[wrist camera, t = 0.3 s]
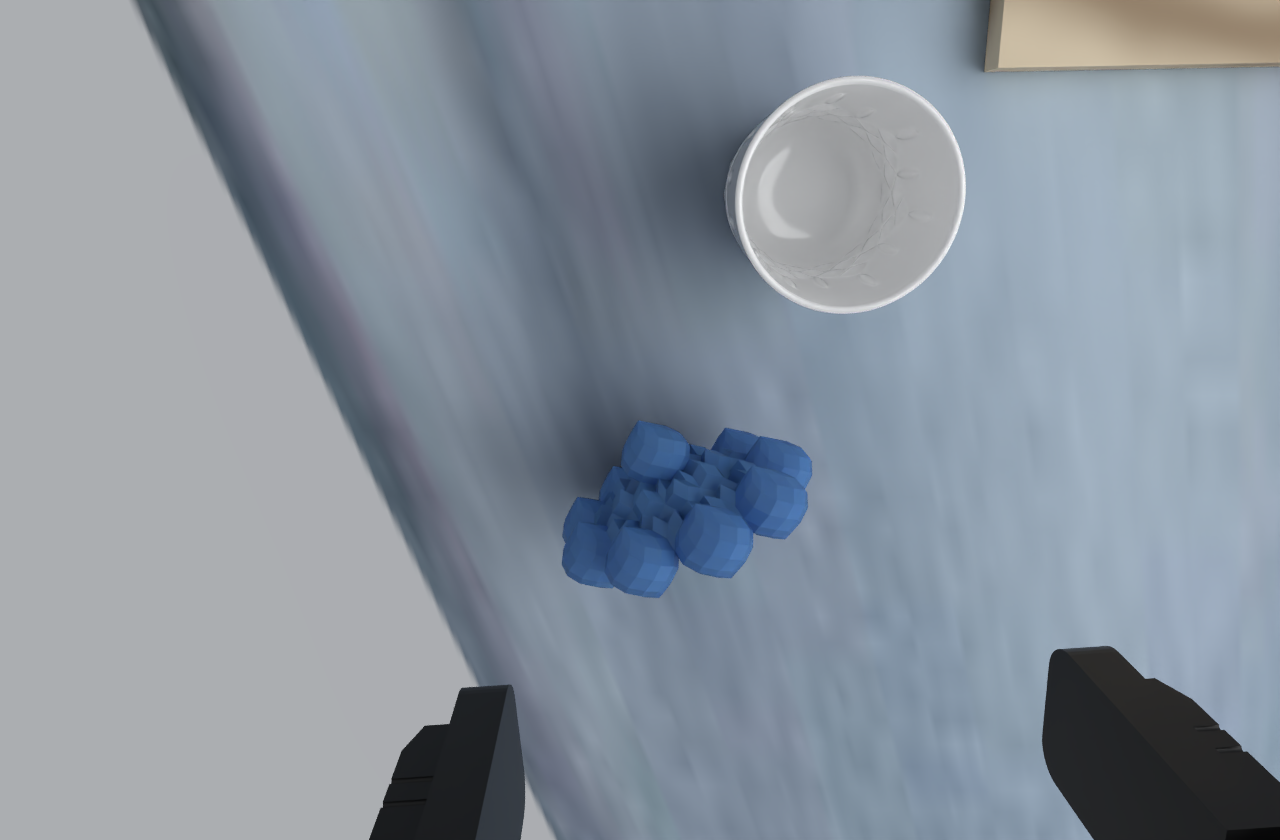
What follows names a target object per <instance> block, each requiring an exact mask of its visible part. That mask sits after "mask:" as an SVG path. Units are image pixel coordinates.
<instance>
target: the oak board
mask: <svg viewBox="0 0 1280 840" xmlns="http://www.w3.org/2000/svg"><path fill="white" fill-rule="evenodd" d="M1229 67H1280V0H991V1H990V12H989V23H988V34H987V46H986V57H985V68H984V72H1014V71H1067V70H1121V69H1175V68H1229Z"/></svg>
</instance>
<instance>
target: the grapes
mask: <svg viewBox="0 0 1280 840" xmlns="http://www.w3.org/2000/svg"><path fill="white" fill-rule="evenodd" d="M621 466H622V467H616V466H613V467H612V469H611V470H610V472H609V473H608V475H607V477H606V479H605V481H604V483H603V485H602V487H601V490H600V493H599V500H595V499H590V498H581V497H577V499H576V500H575V502H574V503H573V505H572V507H571V509H570V511H569V513H568V515H567V517H566V519H565V522H564V528H563V535H562V537H563V539H564V541H565V543H566V544H565V546H564V550H563V557H562V566H563V568H564V570H565V572H566V574H567V576H569V577H570V578H572V579H573V580H575V581H577V582H578V583H580V584H585V585H590V586H595V587H600V588H613V587H616V588H618V589H620V590H621V591H623V592H625V593H628V594H633V595H638V596H642V597H650V598H660V596H661V595H662V594H663V593H664V591H665V590H666V589H667V588H668V586H669V585H670V583H671V582H672V580H673V578H674V576H675V574H676V572H677V570H678V564H679V559H680V561H681V562H682V564H683V565H685V566H687V567H689V568H690V569H692V570H694V571H696V572H698V573H700V574H704V575H709V576H713V577H718V578H732V577H733V576H734V574H735V573H736V572H737V571H738V570H739V569H740V568H741V566H742V565H743V564H744V563H745V562H746V560H747V558H748V556H749V554H750V552H751V550H752V548H753V533H754V534H756V535H760V536H765V537H770V538H775V539H786V538H787V537H788V536H789V535H790V534H791V532H792V531H793V530H794V529H795V528H796V527H797V526H798V525H799V524H800V522H801V520H802V518H803V516H804V514H805V512H806V510H807V508H808V500H807V492H806V491H805V488H806V486H807V484H808V482H809V480H810V478H811V476H812V461H811V460H810V458H809V457H808V456H807V454H806V453H805V452H804V451H803V450H802V448H800V447H798V446H796V445H794V444H791V443H789V442H787V441H783V440H778V439H773V438H768V437H762V436H760V437H758V436H756V435H754V434H751V433H749V432H744V431H739V430H734V429H729V428H725V429H724V430H723V431H722V433H721V434H720V435H719V437H718V438H717V440H716V442H715V443H714V445H713V447H712V449H711V450H708V449H706V448H705V447H700V446H695V445H692V444H688V442H687V441H686V440H685V438H684V437H683V435H681V434H680V433H679V432H678V431H676V430H673V429H671V428H669V427H667V426H664V425H659V424H654V423H649V422H644V421H639V420H638V422H637V423H636V425H635V426H634V428H633V429H632V431H631V433H630V435H629V437H628V439H627V441H626V443H625V445H624V448H623V450H622V457H621Z"/></svg>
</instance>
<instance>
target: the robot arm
mask: <svg viewBox="0 0 1280 840" xmlns="http://www.w3.org/2000/svg"><path fill="white" fill-rule="evenodd" d="M1042 744H1043V752H1044V757H1045V761H1046V765H1047V768H1048V770H1049V773H1050V775H1051V777H1052V779H1053V781H1054V783H1055V784H1056V786H1057V787H1058V789H1059V790H1060V792H1061V793H1062V794H1063V796H1064V797H1065V799H1066V800H1067V802H1068V803H1069V805H1070V806H1071V807H1072V809H1073V810H1074V812H1075V813H1076V815H1077V816H1078V818H1079V819H1080V820H1081V822H1082V823H1083V825H1084V826H1085V828H1086V829H1087V831H1088V832H1089V833H1090V835H1091V836H1092V838H1093V839H1094V840H1280V782H1279V781H1278V780H1277V779H1276V778H1274V777H1273V776H1272V775H1271V774H1270V773H1269V772H1268V771H1267V770H1266V769H1265V768H1264V767H1263V766H1262V765H1261V764H1260V763H1259V762H1258V761H1257V760H1256V759H1254V758H1253V757H1252V756H1251V755H1250V754H1249V753H1248V752H1243V751H1242V748H1241V745H1240V744H1239V743H1238V742H1237V741H1236V740H1234V739H1233V738H1232V737H1231V736H1230V735H1229V734H1228V733H1227V732H1226V731H1225V730H1220V728H1219V724H1218V723H1217V722H1215V721H1214V720H1213V719H1212V718H1211V717H1210V716H1209V715H1208V714H1207V713H1206V712H1205V711H1204V710H1203V709H1202V708H1201V707H1200V706H1199V705H1198V704H1197V703H1195V702H1194V701H1193V700H1192V699H1191V698H1189V697H1187V696H1185V695H1184V694H1182V693H1180V692H1178V691H1176V690H1175V689H1173V688H1171V687H1169V686H1168V685H1166V684H1164V683H1162V682H1160V681H1159V680H1157V679H1155V678H1152V679H1145V678H1144V677H1143V676H1142V675H1141V674H1140V673H1139V672H1138V671H1137V670H1136V669H1135V668H1134V667H1133V666H1132V665H1131V664H1130V663H1129V662H1128V661H1127V660H1126V659H1125V658H1124V657H1123V656H1122V655H1121V654H1120V653H1119V652H1118V651H1117V650H1115V649H1114V648H1112V647H1110V646H1100V647H1085V648H1070V649H1057V650H1055V651H1054V652H1053V653H1052V655H1051V658H1050V662H1049V671H1048V681H1047V692H1046V702H1045V713H1044V723H1043V734H1042ZM524 809H525V777H524V766H523V758H522V750H521V742H520V734H519V727H518V719H517V711H516V703H515V695H514V691H513V687H512V685H498V686H483V687H469V688H461V690H460V691H459V694H458V698H457V701H456V704H455V708H454V711H453V714H452V717H451V721H450V724H444V725H429V726H424V727H423V729H422V730H421V731H420V732H419V733H418V734H417V735H416V736H415V737H414V738H413V739H412V740H411V741H410V742H409V744H408V745H407V746H406V747H405V748H404V749H403V750H402V752H401V754H400V757H399V760H398V762H397V765H396V768H395V771H394V773H393V776H392V783H391V784H390V785H389V787H388V790H387V792H386V795H385V798H384V800H383V808H381V809H380V811H379V814H378V817H377V819H376V822H375V825H374V828H373V830H372V833H371V836H370V838H369V840H520V839H521V832H522V825H523V819H524Z"/></svg>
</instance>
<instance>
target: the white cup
mask: <svg viewBox="0 0 1280 840" xmlns="http://www.w3.org/2000/svg"><path fill="white" fill-rule="evenodd" d="M965 193H966V180H965V170H964V164H963V159H962V155H961V152H960V149H959V146H958V143H957V141H956V139H955V136H954V134H953V132H952V131H951V129H950V127H949V126H948V124H947V122H946V121H945V120H944V118H943V117H942V116H941V114H940V113H939V112H938V111H937V110H936V109H935V108H934V107H933V106H932V105H931V104H930V103H929V102H928V101H927V100H926V99H924V98H923V97H922V96H920V95H919V94H917V93H916V92H914V91H913V90H911V89H909V88H907V87H905V86H903V85H901V84H898V83H896V82H893V81H890V80H886V79H882V78H877V77H870V76H846V77H839V78H834V79H830V80H826V81H823V82H820V83H817V84H815V85H812V86H810V87H808V88H806V89H804V90H802V91H800V92H798V93H797V94H795V95H794V96H792V97H791V98H789V99H788V100H786V101H785V102H784V103H783V104H781V105H780V106H779V107H778V108H777V109H776V110H775V111H773V112H772V113H771V114H770V115H768V116H767V117H766V118H765V119H764V120H763V121H761V122H760V123H759V124H758V125H757V126H756V127H755V129H754V130H753V131H752V132H751V133H750V134H749V135H748V137H747V138H746V139H745V140H744V142H743V143H742V145H741V146H740V148H739V149H738V151H737V153H736V155H735V157H734V158H733V159H732V161H731V163H730V168H729V172H728V176H727V182H726V186H725V191H724V201H725V205H726V213H727V218H728V222H729V225H730V228H731V230H732V233H733V235H734V237H735V239H736V241H737V243H738V245H739V247H740V248H741V250H742V251H743V253H744V254H745V255H746V257H747V258H748V259H749V261H750V262H751V263H752V265H753V266H754V268H755V269H756V271H757V272H758V273H759V274H760V276H761V277H762V278H763V279H764V280H765V281H766V282H767V283H768V284H769V285H770V286H771V287H772V288H773V289H774V290H776V291H777V292H778V293H780V294H781V295H782V296H784V297H785V298H787V299H789V300H791V301H792V302H794V303H796V304H799V305H801V306H803V307H806V308H809V309H812V310H816V311H820V312H826V313H835V314H850V313H859V312H865V311H869V310H873V309H876V308H880V307H882V306H885V305H887V304H890V303H892V302H894V301H896V300H898V299H900V298H901V297H903V296H905V295H906V294H908V293H909V292H911V291H912V290H914V289H915V288H916V287H917V286H919V285H920V284H921V283H922V282H923V281H924V280H925V279H926V278H927V277H928V276H929V275H930V274H931V273H932V272H933V271H934V270H935V269H936V268H937V266H938V265H939V264H940V262H941V261H942V260H943V258H944V257H945V255H946V253H947V252H948V250H949V248H950V246H951V245H952V243H953V240H954V238H955V236H956V234H957V231H958V228H959V225H960V222H961V218H962V214H963V210H964V204H965Z"/></svg>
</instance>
